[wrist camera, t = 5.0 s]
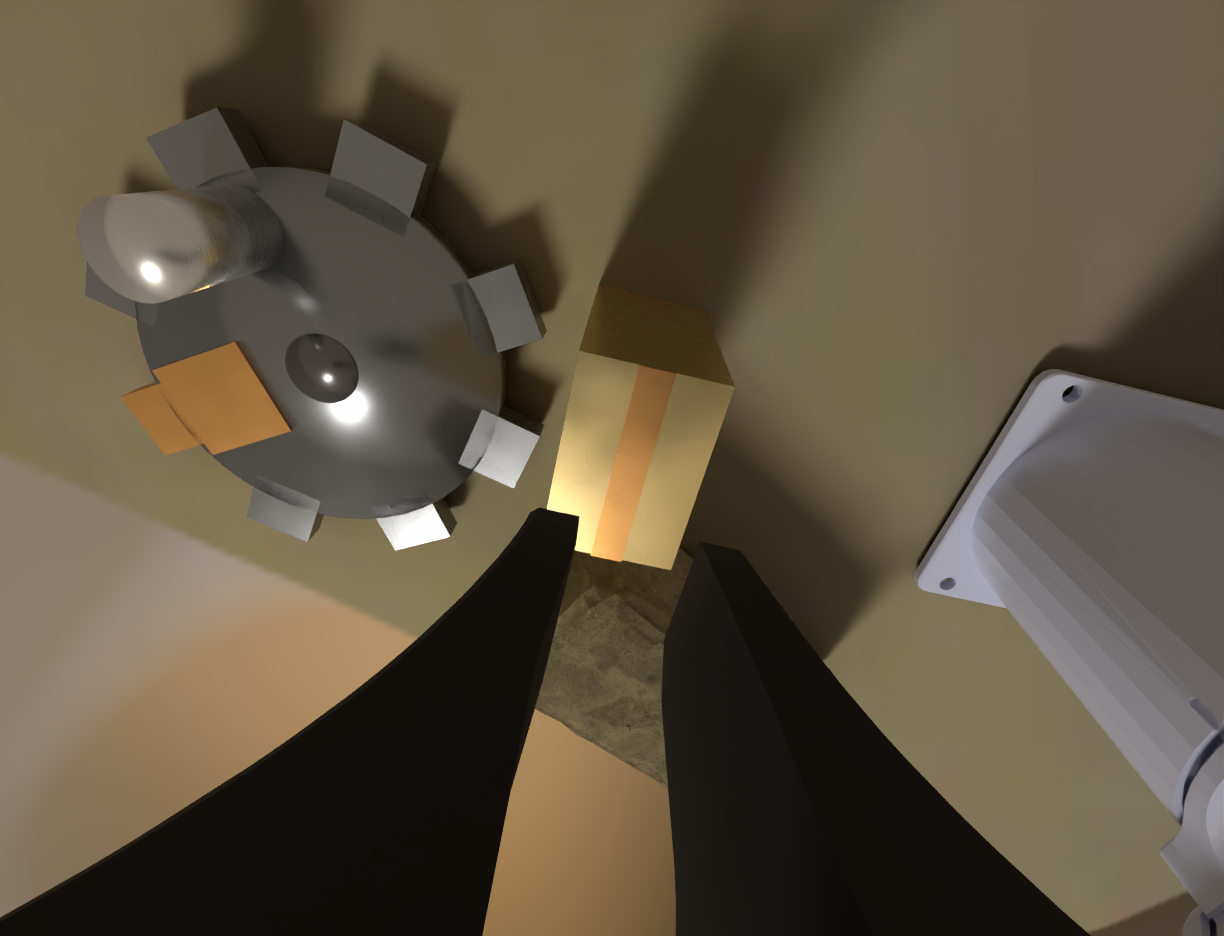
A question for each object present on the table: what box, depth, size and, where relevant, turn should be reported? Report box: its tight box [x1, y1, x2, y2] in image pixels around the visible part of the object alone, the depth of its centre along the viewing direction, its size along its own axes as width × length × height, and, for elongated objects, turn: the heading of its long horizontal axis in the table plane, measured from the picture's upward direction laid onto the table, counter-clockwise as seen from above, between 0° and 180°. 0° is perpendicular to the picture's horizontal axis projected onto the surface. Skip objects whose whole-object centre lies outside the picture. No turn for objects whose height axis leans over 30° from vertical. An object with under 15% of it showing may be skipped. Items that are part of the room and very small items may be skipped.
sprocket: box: [77, 107, 547, 550], centre depth 15 cm, size 12×12×4 cm
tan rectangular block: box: [547, 284, 735, 570], centre depth 15 cm, size 3×4×6 cm, turn 167°
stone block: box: [535, 546, 833, 790], centre depth 20 cm, size 6×12×5 cm, turn 49°
